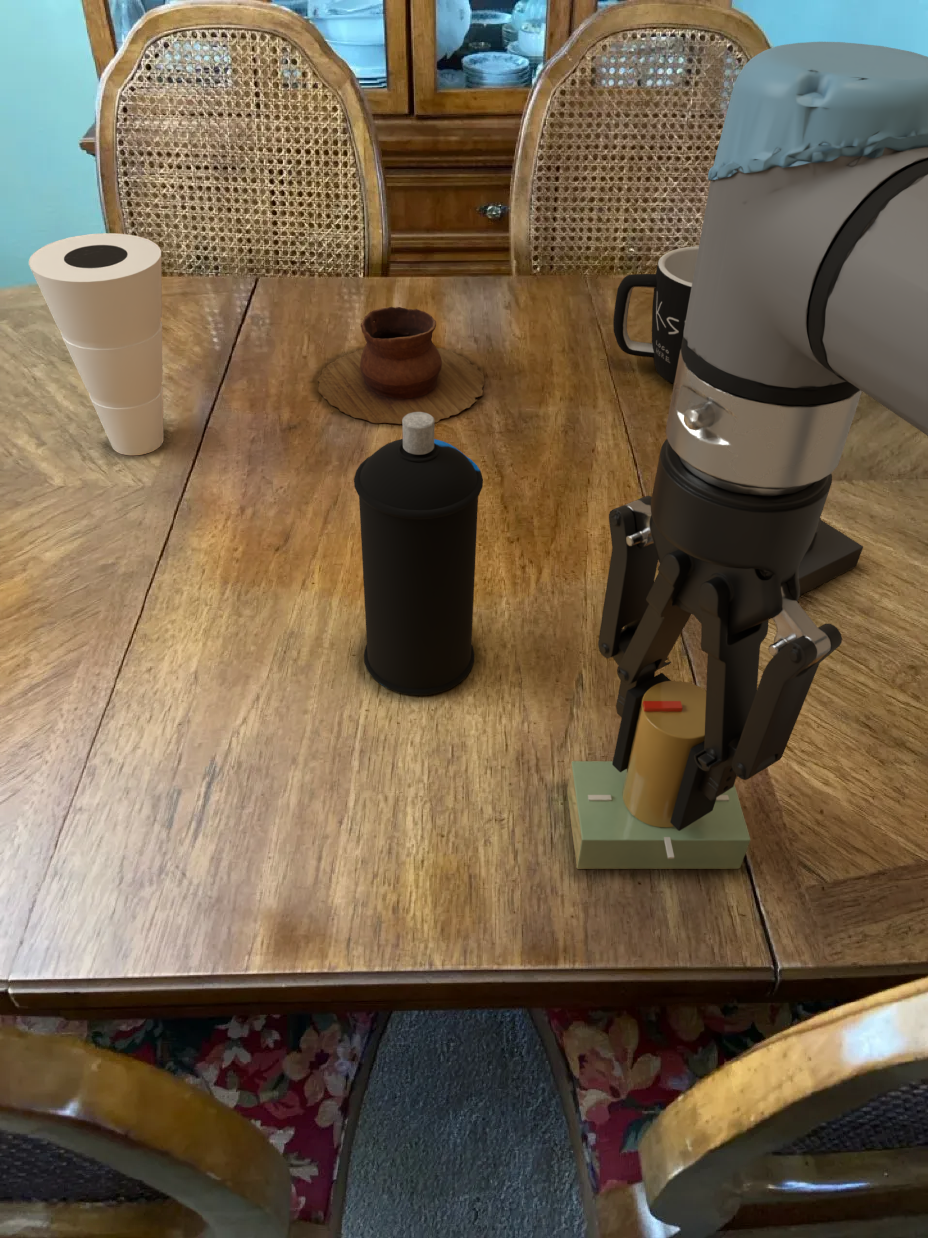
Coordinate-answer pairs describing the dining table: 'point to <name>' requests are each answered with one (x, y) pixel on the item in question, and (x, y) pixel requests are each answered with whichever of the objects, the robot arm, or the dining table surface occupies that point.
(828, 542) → the button base
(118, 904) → the dining table surface
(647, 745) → the dial
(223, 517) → the dining table surface
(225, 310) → the dining table surface
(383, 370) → the ceramic pot
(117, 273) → the cream tapered cylinder
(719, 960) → the dining table surface
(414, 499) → the aerosol can
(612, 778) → the dial panel
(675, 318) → the mug
